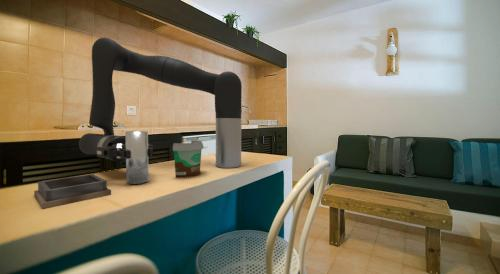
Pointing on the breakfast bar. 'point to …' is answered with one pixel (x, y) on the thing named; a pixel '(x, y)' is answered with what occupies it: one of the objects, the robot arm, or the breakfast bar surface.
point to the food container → (187, 158)
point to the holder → (70, 190)
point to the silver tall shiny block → (137, 157)
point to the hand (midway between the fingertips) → (139, 153)
